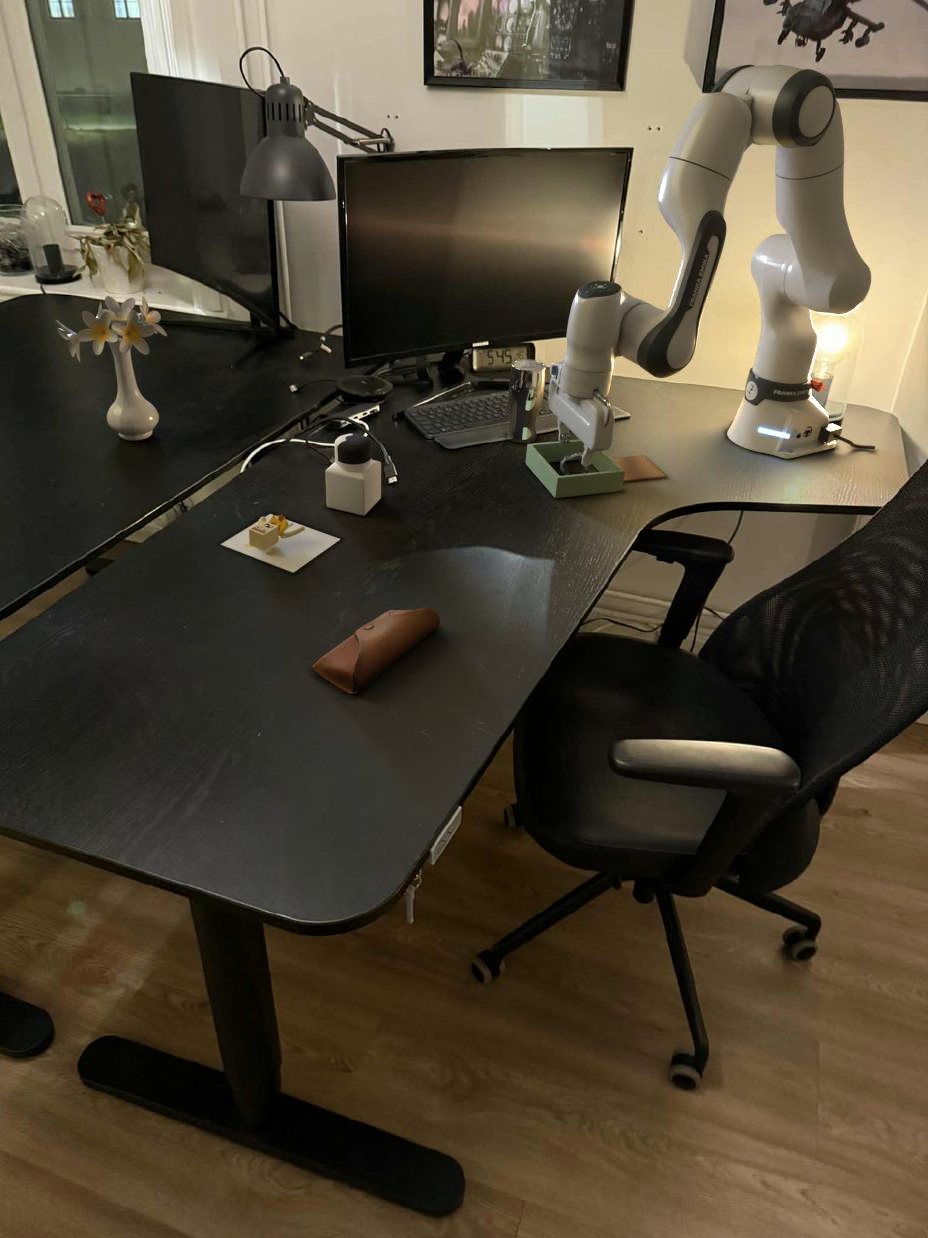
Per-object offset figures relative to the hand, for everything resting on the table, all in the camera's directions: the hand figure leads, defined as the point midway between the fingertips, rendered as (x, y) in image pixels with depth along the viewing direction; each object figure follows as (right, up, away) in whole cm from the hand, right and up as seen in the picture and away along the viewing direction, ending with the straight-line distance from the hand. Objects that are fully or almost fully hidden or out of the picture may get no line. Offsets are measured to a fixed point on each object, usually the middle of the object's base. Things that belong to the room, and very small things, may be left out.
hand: (574, 453), depth 159 cm
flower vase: (-83, +4, +6) cm, 84 cm away
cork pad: (+12, -2, +7) cm, 14 cm away
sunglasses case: (-32, -35, -43) cm, 64 cm away
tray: (0, -4, +3) cm, 5 cm away
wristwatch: (0, -4, +3) cm, 5 cm away
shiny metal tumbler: (-9, +6, +16) cm, 19 cm away
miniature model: (-49, -18, -22) cm, 57 cm away
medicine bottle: (-39, -11, -10) cm, 42 cm away
